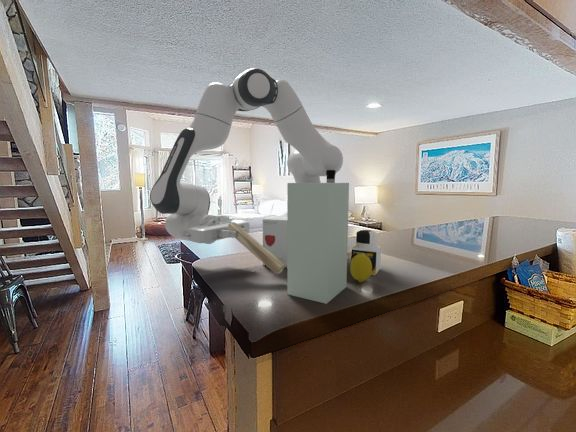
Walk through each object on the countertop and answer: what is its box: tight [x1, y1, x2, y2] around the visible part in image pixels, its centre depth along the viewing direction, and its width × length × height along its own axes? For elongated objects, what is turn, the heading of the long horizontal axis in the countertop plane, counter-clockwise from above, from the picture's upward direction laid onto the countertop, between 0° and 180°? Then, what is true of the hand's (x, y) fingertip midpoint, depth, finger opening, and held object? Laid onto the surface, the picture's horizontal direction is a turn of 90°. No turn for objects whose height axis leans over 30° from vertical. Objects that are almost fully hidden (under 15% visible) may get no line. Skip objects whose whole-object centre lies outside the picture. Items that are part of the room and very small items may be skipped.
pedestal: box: [286, 182, 350, 305], centre depth 69 cm, size 12×10×26 cm
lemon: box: [349, 253, 372, 283], centre depth 76 cm, size 6×6×8 cm
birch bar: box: [227, 222, 286, 275], centre depth 80 cm, size 2×20×2 cm
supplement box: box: [262, 215, 287, 269], centre depth 94 cm, size 9×9×15 cm
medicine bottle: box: [351, 229, 382, 276], centre depth 86 cm, size 7×7×12 cm
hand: (241, 233), depth 82 cm, fingers closed on birch bar, 2 cm apart
